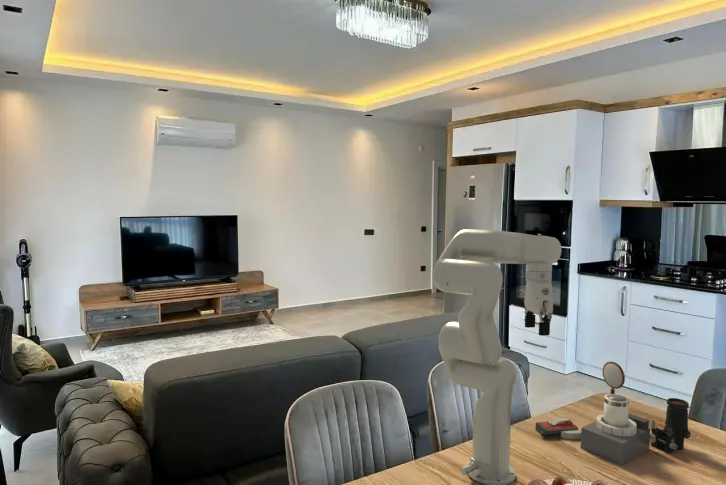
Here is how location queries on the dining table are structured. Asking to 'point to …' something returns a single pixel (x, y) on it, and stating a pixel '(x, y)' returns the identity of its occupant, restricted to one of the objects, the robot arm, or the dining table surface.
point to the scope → (672, 427)
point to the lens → (616, 410)
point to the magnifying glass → (613, 376)
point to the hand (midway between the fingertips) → (536, 331)
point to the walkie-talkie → (558, 429)
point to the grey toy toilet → (616, 439)
